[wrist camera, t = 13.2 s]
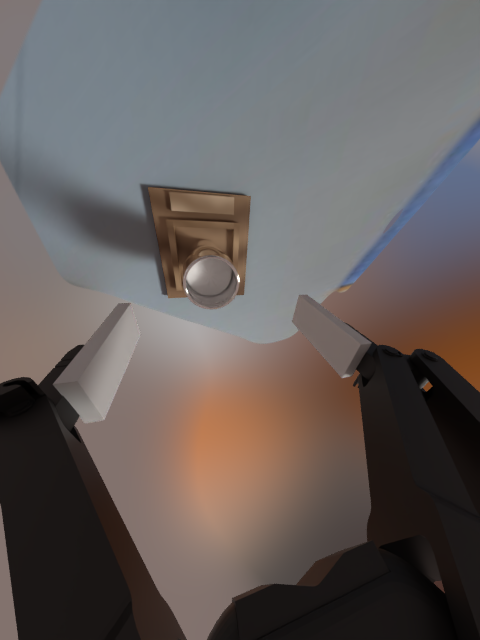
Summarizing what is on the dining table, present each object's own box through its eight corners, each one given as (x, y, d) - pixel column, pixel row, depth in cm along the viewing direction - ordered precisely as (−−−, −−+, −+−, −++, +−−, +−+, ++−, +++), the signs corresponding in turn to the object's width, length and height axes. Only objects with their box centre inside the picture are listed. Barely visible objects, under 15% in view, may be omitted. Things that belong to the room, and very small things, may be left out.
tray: (149, 188, 26) (145, 185, 24) (248, 196, 30) (252, 195, 28) (169, 295, 36) (167, 300, 34) (242, 292, 39) (245, 296, 37)
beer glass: (183, 271, 33) (177, 306, 20) (188, 232, 29) (184, 245, 17) (219, 278, 35) (233, 314, 23) (226, 242, 32) (248, 261, 19)
